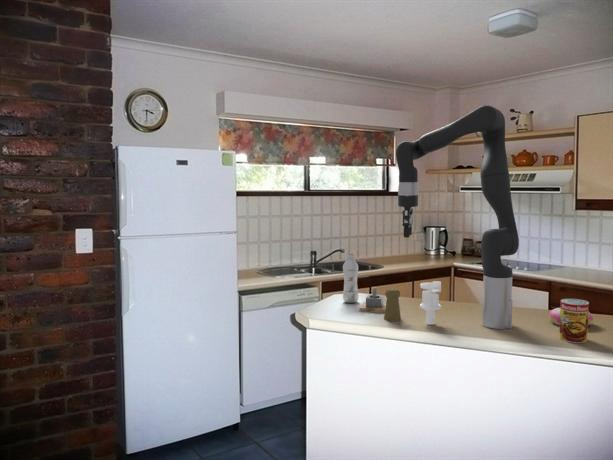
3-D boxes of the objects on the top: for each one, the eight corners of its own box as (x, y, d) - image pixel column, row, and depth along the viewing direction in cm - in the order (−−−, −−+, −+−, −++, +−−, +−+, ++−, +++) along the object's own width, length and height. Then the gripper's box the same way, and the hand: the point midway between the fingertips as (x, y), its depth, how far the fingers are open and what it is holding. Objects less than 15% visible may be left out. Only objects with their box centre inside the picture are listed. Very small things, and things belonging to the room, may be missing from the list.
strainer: (439, 327, 180) (440, 283, 179) (418, 325, 183) (418, 282, 181) (441, 321, 187) (442, 279, 185) (421, 320, 189) (421, 278, 188)
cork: (400, 321, 188) (401, 290, 187) (383, 320, 189) (383, 290, 188) (401, 317, 194) (401, 287, 193) (384, 316, 195) (384, 286, 194)
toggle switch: (388, 306, 210) (389, 286, 209) (385, 312, 200) (385, 291, 199) (363, 305, 212) (363, 284, 212) (359, 311, 203) (359, 289, 202)
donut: (591, 321, 186) (592, 307, 186) (593, 331, 174) (594, 316, 174) (549, 317, 192) (550, 304, 192) (548, 327, 180) (548, 312, 180)
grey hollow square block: (368, 303, 210) (368, 294, 210) (383, 304, 208) (383, 295, 208) (365, 307, 204) (365, 298, 204) (381, 307, 203) (381, 298, 202)
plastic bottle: (361, 301, 218) (361, 253, 216) (353, 305, 212) (353, 255, 210) (347, 300, 222) (347, 252, 220) (339, 303, 216) (339, 254, 214)
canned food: (560, 341, 164) (561, 303, 162) (558, 334, 171) (559, 297, 170) (588, 344, 161) (590, 305, 160) (585, 336, 168) (587, 299, 167)
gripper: (400, 193, 211) (399, 234, 213) (396, 194, 198) (395, 238, 199) (419, 193, 209) (418, 234, 211) (416, 194, 196) (416, 238, 197)
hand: (407, 236), depth 205 cm, fingers open, 8 cm apart
